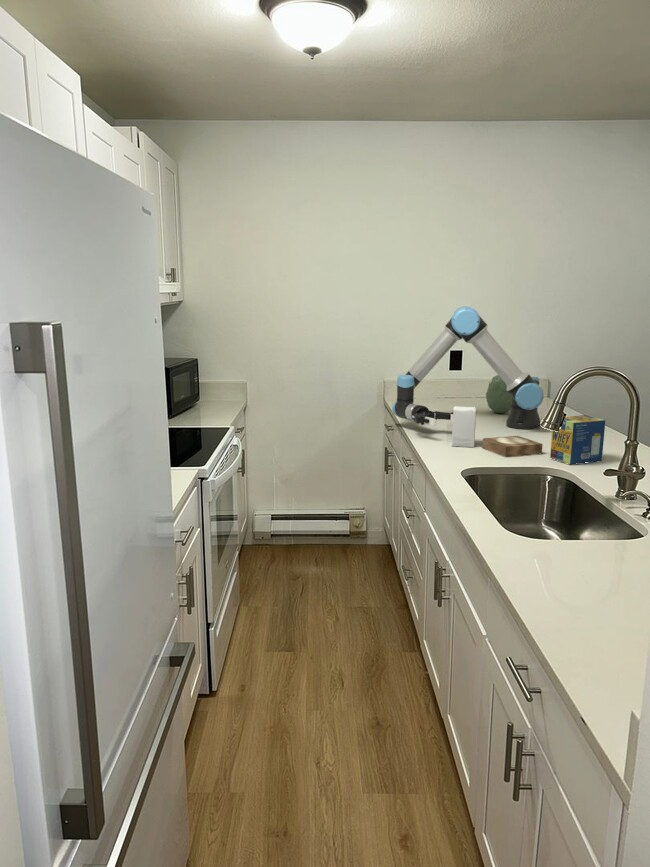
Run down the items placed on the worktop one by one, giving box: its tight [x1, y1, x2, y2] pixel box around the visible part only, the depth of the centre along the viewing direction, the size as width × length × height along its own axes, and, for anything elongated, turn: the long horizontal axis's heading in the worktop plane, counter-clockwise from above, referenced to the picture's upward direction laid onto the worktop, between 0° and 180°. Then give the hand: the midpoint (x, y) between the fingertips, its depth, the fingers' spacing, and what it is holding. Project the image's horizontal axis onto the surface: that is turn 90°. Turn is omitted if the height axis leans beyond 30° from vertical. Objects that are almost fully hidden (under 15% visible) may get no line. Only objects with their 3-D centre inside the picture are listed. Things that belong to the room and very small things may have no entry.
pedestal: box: [481, 435, 544, 458], centre depth 263 cm, size 16×16×4 cm
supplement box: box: [451, 406, 477, 448], centre depth 273 cm, size 9×9×15 cm
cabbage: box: [485, 374, 512, 414], centre depth 346 cm, size 16×19×20 cm
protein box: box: [549, 414, 606, 465], centre depth 248 cm, size 10×15×16 cm
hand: (448, 421), depth 282 cm, fingers open, 13 cm apart
